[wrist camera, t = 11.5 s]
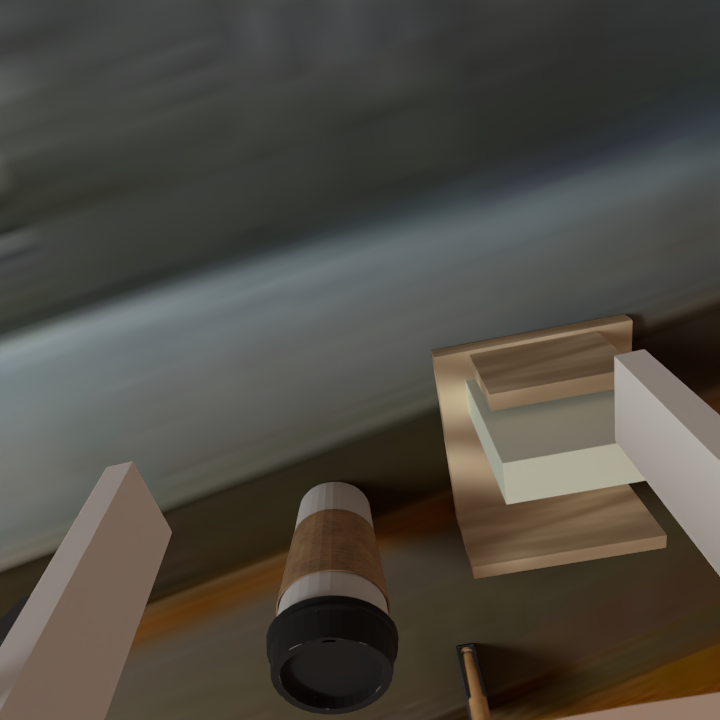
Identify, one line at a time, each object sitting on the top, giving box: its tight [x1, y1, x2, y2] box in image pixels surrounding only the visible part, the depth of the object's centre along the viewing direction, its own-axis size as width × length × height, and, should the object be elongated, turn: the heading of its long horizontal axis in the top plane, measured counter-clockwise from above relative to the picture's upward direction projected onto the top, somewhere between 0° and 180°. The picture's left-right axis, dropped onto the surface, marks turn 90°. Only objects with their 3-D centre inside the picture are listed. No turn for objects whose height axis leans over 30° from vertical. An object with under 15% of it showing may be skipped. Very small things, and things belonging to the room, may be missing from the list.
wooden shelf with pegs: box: [431, 314, 667, 579], centre depth 39 cm, size 16×14×7 cm
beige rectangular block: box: [465, 378, 646, 505], centre depth 35 cm, size 3×10×10 cm, turn 101°
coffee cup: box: [267, 482, 399, 714], centre depth 38 cm, size 8×8×15 cm
